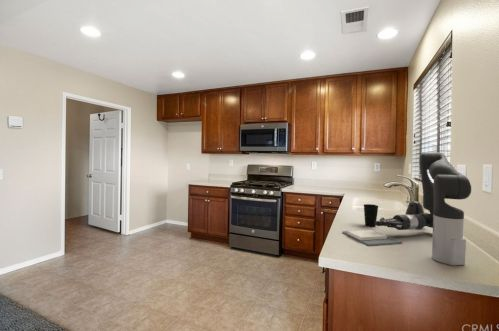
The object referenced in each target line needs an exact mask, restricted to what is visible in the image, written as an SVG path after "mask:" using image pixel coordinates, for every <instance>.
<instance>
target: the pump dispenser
mask: <svg viewBox="0 0 499 331" xmlns="http://www.w3.org/2000/svg"><path fill="white" fill-rule="evenodd" d="M421 213H425V211H424V207H423V204H421V202H419V201H418V200H413V201H411V202H409V203H408V206H407V208H406V210H405V214H404V215H418V214H421Z"/></svg>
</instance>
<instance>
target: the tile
mask: <svg viewBox="0 0 499 331" xmlns="http://www.w3.org/2000/svg"><path fill="white" fill-rule="evenodd" d="M347 231H348V234H349V235H351V236H353V237H355V238H357V239H359V240H374V239H387V236H388V235H387V234H383V233H381V232H378V231H376V230H374V229H362V231H359V230H347Z"/></svg>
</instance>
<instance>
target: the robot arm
mask: <svg viewBox="0 0 499 331" xmlns="http://www.w3.org/2000/svg"><path fill="white" fill-rule="evenodd" d="M419 170H420V171H419V172H420V179H421V186H422V207H423V209H425V210H428V212H429V213H428V212H424V213H421V214H418V215H405V214H395V215H394V216H393V217H392V218H391V217H389V218H384V217H381V218H380V219H379V220H376V221H375V225H376V227H387V228H391V229H392V228H393V229H396V230H397V231H408V230H414V229H423V228H425V227H427V228H431V229H432V244H431V246H432V248H431V259H433V260H434V261H436V262H438V263H442V264H444V265H450V266H451V267H453V266H462V265H464V266H465V264H466V251H467V250H466V249H467V248H466V247H467V246H466V244H467V240H466V239H465V238H464V226H465V225H464V222H465V218H464V217H465V211H463V210H462V209H461V208H457V207H455V206H452V205H450V204H448V203H447V202H446V200H448V199H449V200H465V199H468V198H469V197H470V195H471V193H472V184H471V182H470V179H469V178H468V177H467V176H466V175H464V174H462V173H460V172H459V171H458V170H457V169H456V168H455V167H454V166H453V165H452V164H451V163H450V162H449V161H448V159H447V157H446V155H445V154H444V153H443V152H439V151H437V152H436V151H435V152H434V151H433V152H430V151H428V152H421V154H420V156H419ZM428 173H429V174H428ZM429 175H430V176H429ZM430 177H431V179H432V180H433V182H432V180H431V179H430Z"/></svg>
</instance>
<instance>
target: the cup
mask: <svg viewBox="0 0 499 331" xmlns="http://www.w3.org/2000/svg"><path fill="white" fill-rule="evenodd" d="M378 211H379V205H378V204H373V203H372V204H370V203H365V204H363V214H364V226H365V225H366V226H365V227H368V226H369V228H376V227H377V226H376V225H375V221H378V220H377V219H378Z"/></svg>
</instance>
